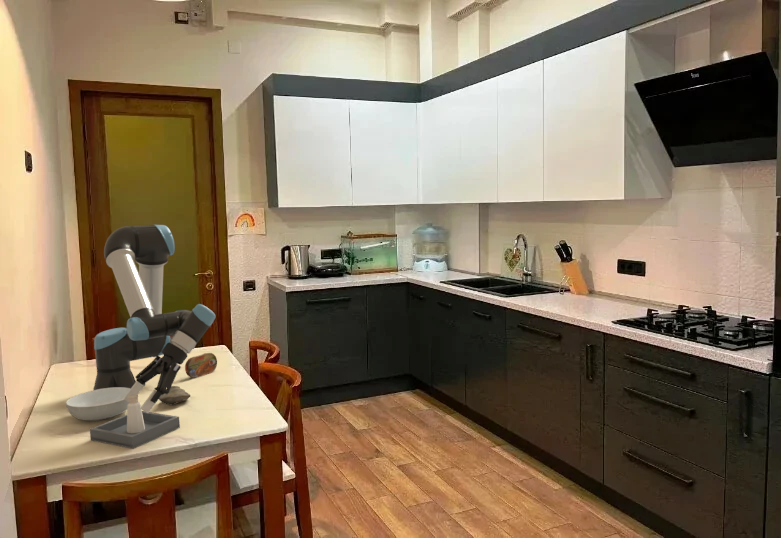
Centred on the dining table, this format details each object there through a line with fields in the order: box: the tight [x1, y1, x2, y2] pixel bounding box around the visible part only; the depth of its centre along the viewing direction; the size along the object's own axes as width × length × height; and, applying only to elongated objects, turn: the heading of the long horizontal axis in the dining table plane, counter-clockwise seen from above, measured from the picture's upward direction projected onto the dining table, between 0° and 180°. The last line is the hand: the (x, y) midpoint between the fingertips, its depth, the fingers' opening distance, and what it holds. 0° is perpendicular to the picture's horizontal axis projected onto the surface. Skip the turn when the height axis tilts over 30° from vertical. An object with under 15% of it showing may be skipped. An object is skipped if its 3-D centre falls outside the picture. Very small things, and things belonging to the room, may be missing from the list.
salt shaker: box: [126, 395, 145, 434], centre depth 191 cm, size 5×5×11 cm
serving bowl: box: [65, 387, 130, 422], centre depth 210 cm, size 21×21×7 cm
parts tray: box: [89, 410, 181, 450], centre depth 192 cm, size 18×18×4 cm
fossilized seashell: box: [158, 385, 191, 406], centre depth 221 cm, size 11×11×7 cm
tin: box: [184, 352, 218, 379], centre depth 257 cm, size 15×3×8 cm, turn 148°
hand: (135, 406), depth 191 cm, fingers open, 13 cm apart
